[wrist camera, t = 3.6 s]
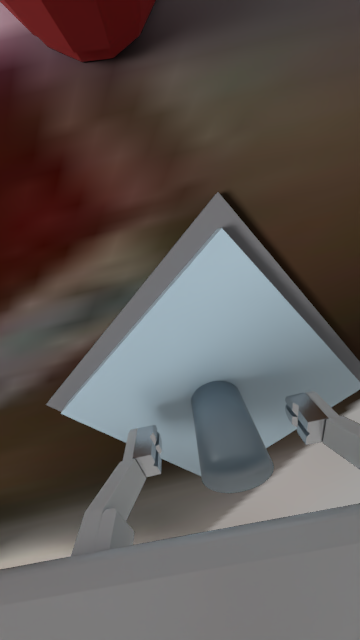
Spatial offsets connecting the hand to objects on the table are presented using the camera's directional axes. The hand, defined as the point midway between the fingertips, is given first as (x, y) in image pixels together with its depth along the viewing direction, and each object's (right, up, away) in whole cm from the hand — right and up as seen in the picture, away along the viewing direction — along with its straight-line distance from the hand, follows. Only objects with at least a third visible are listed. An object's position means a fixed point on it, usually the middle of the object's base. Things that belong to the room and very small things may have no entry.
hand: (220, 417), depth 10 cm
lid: (0, +1, +2) cm, 2 cm away
